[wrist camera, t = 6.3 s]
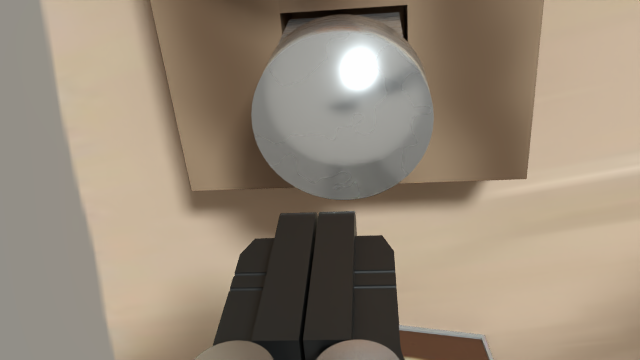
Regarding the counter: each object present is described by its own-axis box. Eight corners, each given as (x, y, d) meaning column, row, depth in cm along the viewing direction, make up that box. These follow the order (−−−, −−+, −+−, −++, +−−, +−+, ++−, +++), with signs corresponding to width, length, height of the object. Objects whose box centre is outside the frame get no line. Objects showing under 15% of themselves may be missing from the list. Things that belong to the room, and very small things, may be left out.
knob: (421, -13, 21) (434, 26, 17) (421, 132, 24) (432, 196, 19) (265, -2, 22) (238, 38, 17) (282, 138, 24) (263, 202, 20)
